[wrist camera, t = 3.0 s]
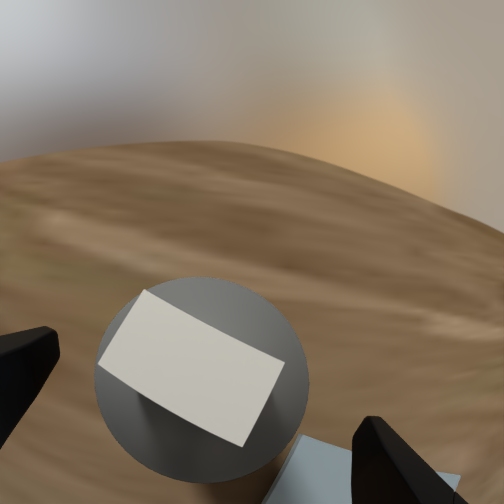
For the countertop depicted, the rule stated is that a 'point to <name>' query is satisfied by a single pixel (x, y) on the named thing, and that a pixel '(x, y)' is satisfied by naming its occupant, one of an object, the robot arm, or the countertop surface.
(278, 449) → the grey tall rounded piece
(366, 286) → the countertop surface
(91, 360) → the countertop surface
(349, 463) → the coaster
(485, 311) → the countertop surface
